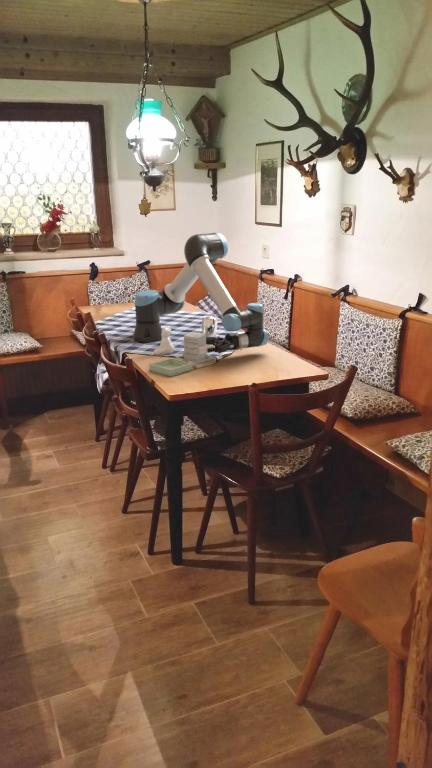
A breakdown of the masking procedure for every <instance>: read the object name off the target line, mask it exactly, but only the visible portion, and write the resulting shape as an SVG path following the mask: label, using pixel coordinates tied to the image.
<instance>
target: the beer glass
mask: <svg viewBox="0 0 432 768" xmlns="http://www.w3.org/2000/svg"><path fill="white" fill-rule="evenodd" d="M201 330H202V332H201V333H203V334H206V337H217V331H218V318H217V316H214V315H213V316H212V315H206V316H203V317H202V319H201ZM207 346H213V345H208V344H206V347H207ZM214 347H215V346H214Z"/></svg>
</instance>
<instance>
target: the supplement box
mask: <svg viewBox="0 0 432 768" xmlns="http://www.w3.org/2000/svg"><path fill="white" fill-rule="evenodd" d="M199 347H206V334H203V332H194V331H193V332H192V331H191V332H189V333H186V334H185V335H183V355H184V360H187V361H191V362H195V363H196V362H199V361H203V360H206V355H207V353H205V354H199Z"/></svg>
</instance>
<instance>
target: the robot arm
mask: <svg viewBox="0 0 432 768" xmlns="http://www.w3.org/2000/svg"><path fill="white" fill-rule="evenodd" d="M228 244H229V243H228V241H227V238H226V237H225V235H224V234H222V233H220V232H210V233H209V232H208V233H200V234H199V233H198V234H194V235H191V236H190V237H189V238H188V239H187V240H186V242H185V244H184V248H183V252H184V259H185V261H186V264H185V265H184V266H183V267H182V269H181V270H180V272H179V273H178V274H177V275H176V277H175V278H174V279H173V281H171V283H167V284H166V285H165V286H164V287H163V288H162V290H161V291H158V290H156V289H148V290H146V289H145V290H142V291H139V292H137V293H136V294H135V296H134V307H135V326H134V331H133V333H132V339H133V341H135V342H139V343H140V342H141V343H153V342H159V341H160V342H161V340H162V336H161V334H162V331H163V329H162V326H161V323H160V316H165V315H169V314H176V313H178V312H180V311H182V309H183V308H184V307H185V305H186V304H185V301H186V294H187V293H188V292H189V290H190V289H191V287H193V285H194V284H195V282H197V280H198V279H199V280H200V281H201V284H203V286H204V288H205V289H206V291H207V292H208V295H209V296H210V298H211V299H212V301H213V302H214V304H215V306H216V307H217V309H218V311H219V312H220V314H221V316H222V320H221V323H222V327H223V329H224V330H225V331H226V332H228V333H226V334H225V336H224V337H220V336H219V335H218V336H216V337H206V344H208V345H213V346H207V347H199V354H205V353H206V354H210V353H212V354H213V353H217V354H222V353H224V352H227V351H235V350H241V351H243V349H250V348H259V347H262V346H266V345H267V344H268V342H269V339H270V337H269V333H268V330H266V329H265V328H264V314H265V313H264V305H263V304H262V303H259V302H252V303H248V304H246V308H245V309H244V310H240V308H239V306H238V305H237V303H236V302H235V300H234V299H233V298H232V297H233V296H231V294H230V293H229V291H228V289H227V288H226V286H225V285H224V283H223V281H222V280H221V278H220V276H219V275H218V273H217V271H216V269H215V268H214V267H213V265H215V263H216V262H217V261H218V260H221V259H223V258H225V257H226V256H227V254H228V251H229V245H228ZM242 329H246V330H244V331H243V330H242ZM240 330H242V331H240ZM235 331H236V332H235ZM237 331H238V332H237ZM229 332H230V333H229ZM214 346H215V347H214Z"/></svg>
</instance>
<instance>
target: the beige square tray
mask: <svg viewBox="0 0 432 768" xmlns="http://www.w3.org/2000/svg"><path fill="white" fill-rule="evenodd" d="M174 358H175V359H178V360H182V361H186V362H190V363H192V366H193V370H197V369H201V368H204V367H207V366H210V365H213V364H214V365H215V364H216V363H217V357H216V356H213V355H209V354H206V360H203V361H199V362H196V363H195V362H191V361H187V360H184V354H183V355H180V356H177V357H174Z"/></svg>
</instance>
